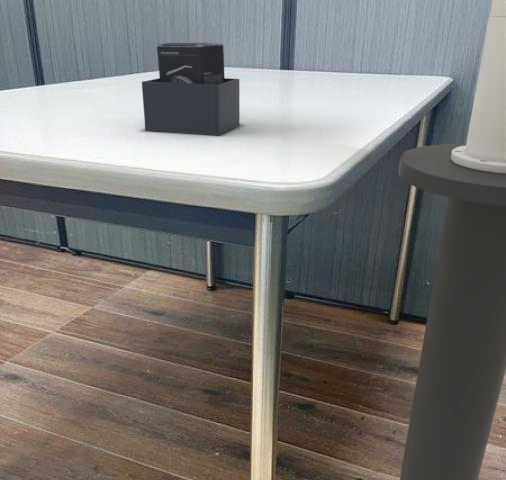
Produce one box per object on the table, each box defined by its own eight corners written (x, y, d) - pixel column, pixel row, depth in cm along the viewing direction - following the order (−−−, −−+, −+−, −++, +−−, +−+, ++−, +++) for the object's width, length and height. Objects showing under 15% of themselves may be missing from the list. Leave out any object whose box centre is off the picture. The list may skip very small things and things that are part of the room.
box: (227, 124, 87) (226, 43, 82) (203, 129, 83) (201, 44, 78) (185, 119, 91) (181, 41, 86) (160, 124, 87) (155, 42, 82)
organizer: (239, 125, 90) (239, 78, 87) (219, 135, 82) (218, 85, 79) (171, 121, 92) (168, 76, 89) (145, 130, 85) (141, 81, 82)
